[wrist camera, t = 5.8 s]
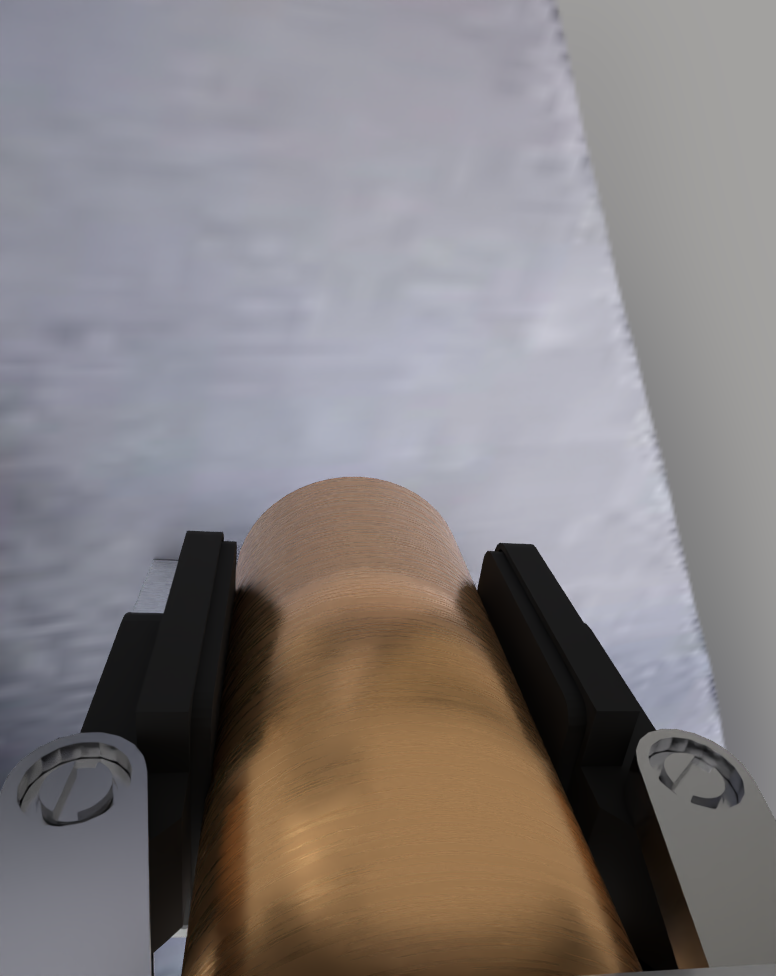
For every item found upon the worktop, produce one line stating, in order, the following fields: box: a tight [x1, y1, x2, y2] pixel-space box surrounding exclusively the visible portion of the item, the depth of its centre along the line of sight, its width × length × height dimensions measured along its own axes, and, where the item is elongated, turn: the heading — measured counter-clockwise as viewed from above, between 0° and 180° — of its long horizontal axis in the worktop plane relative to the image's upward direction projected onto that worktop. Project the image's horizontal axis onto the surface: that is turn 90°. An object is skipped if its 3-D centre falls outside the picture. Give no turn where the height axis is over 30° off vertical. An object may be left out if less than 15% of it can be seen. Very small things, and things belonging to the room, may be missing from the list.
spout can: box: [181, 477, 643, 976], centre depth 8 cm, size 4×4×10 cm
